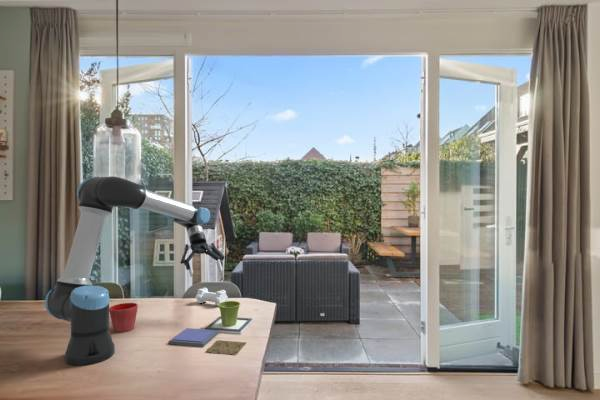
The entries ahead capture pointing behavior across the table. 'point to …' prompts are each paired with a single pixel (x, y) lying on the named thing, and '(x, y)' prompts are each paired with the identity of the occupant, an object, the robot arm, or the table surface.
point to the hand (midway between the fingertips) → (207, 273)
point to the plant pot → (229, 312)
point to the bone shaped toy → (211, 296)
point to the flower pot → (123, 316)
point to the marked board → (235, 329)
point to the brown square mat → (225, 347)
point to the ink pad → (194, 337)
